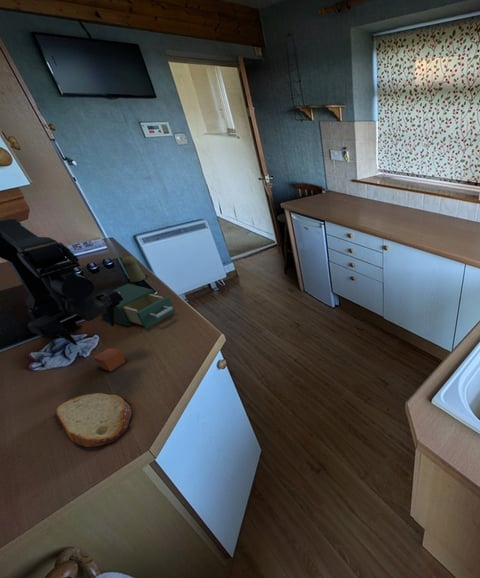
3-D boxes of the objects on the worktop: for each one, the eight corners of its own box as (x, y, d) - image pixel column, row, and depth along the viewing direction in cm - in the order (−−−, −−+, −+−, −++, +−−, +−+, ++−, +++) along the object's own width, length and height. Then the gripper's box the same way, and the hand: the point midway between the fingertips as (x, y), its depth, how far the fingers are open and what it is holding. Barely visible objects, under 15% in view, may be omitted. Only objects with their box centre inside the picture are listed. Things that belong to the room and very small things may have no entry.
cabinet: (161, 308, 116) (153, 289, 112) (128, 326, 106) (117, 306, 102) (137, 301, 120) (128, 283, 116) (103, 318, 110) (91, 299, 106)
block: (110, 371, 88) (103, 360, 85) (100, 367, 89) (93, 357, 87) (125, 361, 91) (119, 351, 89) (116, 358, 92) (109, 347, 90)
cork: (127, 282, 133) (116, 260, 128) (133, 276, 138) (123, 255, 133) (142, 281, 135) (132, 259, 129) (147, 275, 140) (138, 254, 134)
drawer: (183, 313, 112) (177, 298, 109) (154, 331, 103) (147, 315, 99) (152, 305, 117) (145, 290, 113) (121, 321, 107) (113, 306, 104)
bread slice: (65, 403, 78) (58, 394, 76) (145, 385, 83) (140, 376, 82) (22, 469, 63) (11, 459, 61) (122, 442, 69) (115, 432, 67)
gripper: (38, 314, 66) (74, 364, 74) (124, 277, 81) (147, 322, 89) (9, 304, 69) (46, 353, 77) (97, 271, 85) (121, 314, 92)
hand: (94, 334), depth 84 cm, fingers open, 9 cm apart
